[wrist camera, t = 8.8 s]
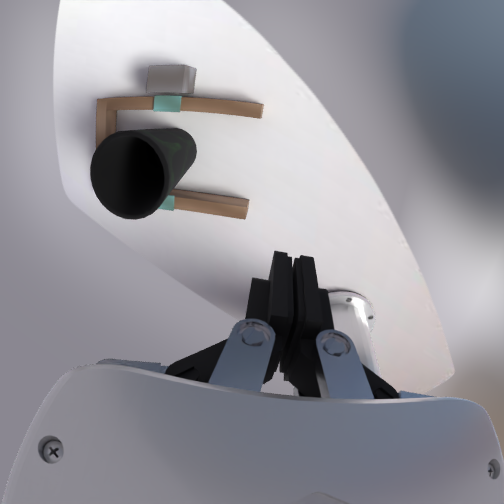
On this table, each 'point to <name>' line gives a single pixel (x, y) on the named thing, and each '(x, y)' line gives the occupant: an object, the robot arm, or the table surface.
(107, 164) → the cup
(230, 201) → the beam slot
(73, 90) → the table surface
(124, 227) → the table surface
